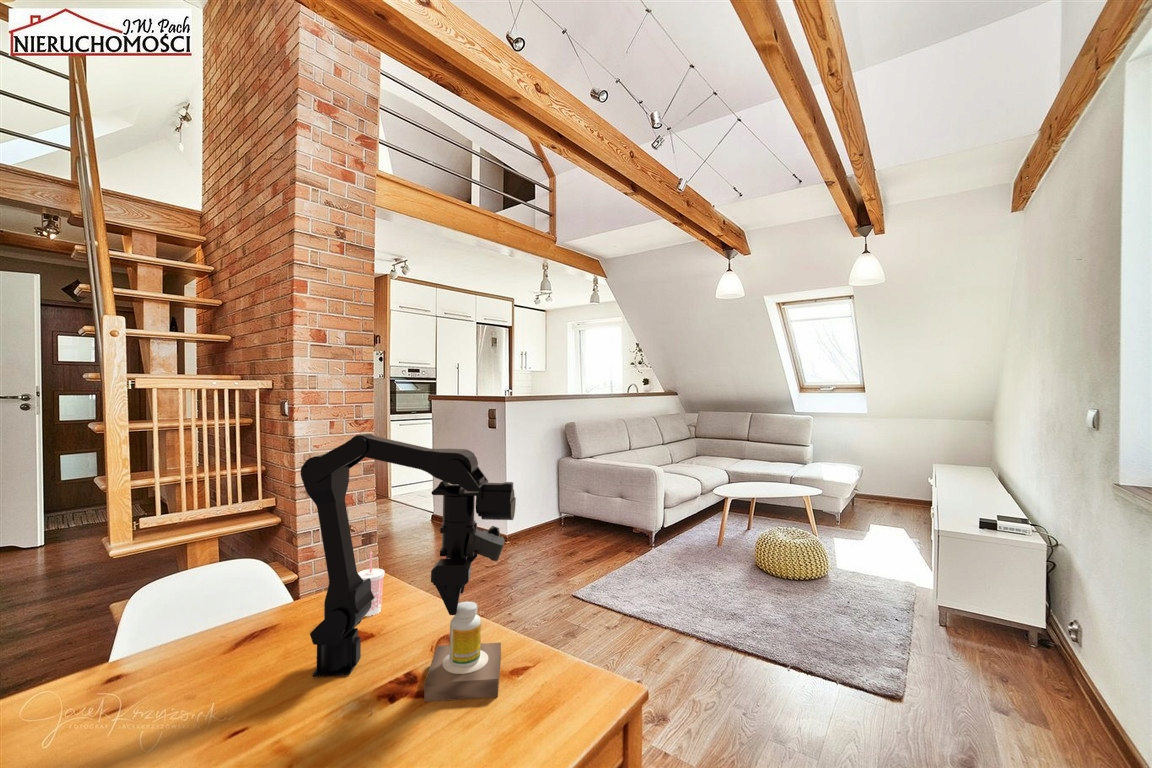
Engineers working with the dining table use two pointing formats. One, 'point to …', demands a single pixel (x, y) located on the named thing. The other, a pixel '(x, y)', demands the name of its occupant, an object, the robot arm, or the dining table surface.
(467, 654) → the supplement bottle
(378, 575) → the beverage cup
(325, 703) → the dining table surface
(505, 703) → the dining table surface
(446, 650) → the brown flat square block
